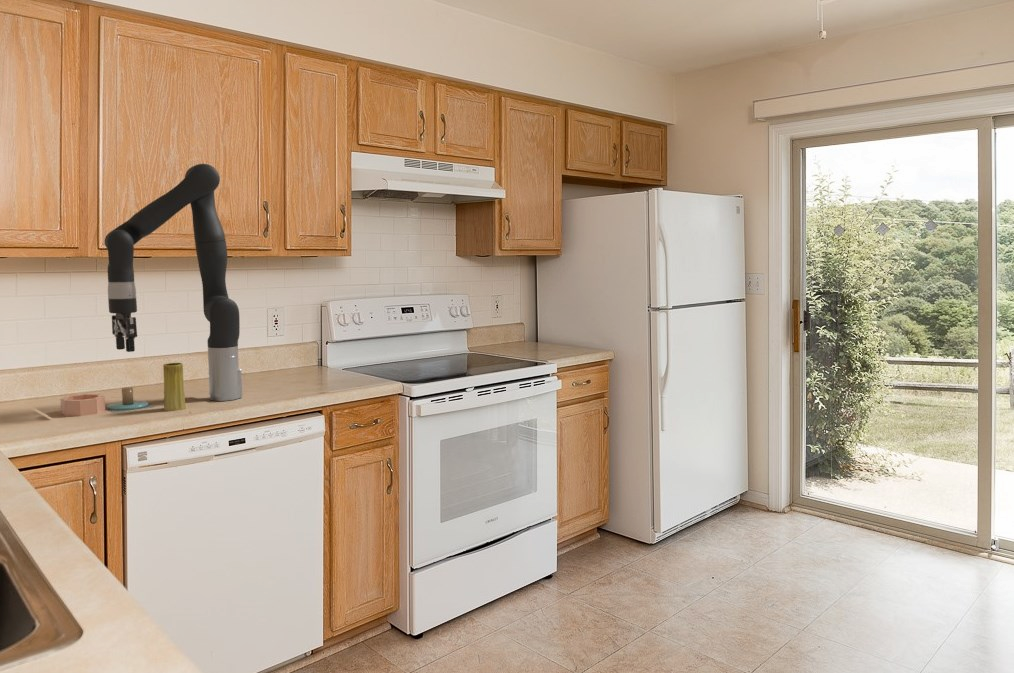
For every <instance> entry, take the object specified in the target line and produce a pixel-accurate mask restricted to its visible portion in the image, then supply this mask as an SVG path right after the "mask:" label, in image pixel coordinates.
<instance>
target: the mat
mask: <svg viewBox="0 0 1014 673" xmlns="http://www.w3.org/2000/svg"><path fill="white" fill-rule="evenodd" d="M149 408H151V409H152V408H156V406H155V405H152V404H150V403H148V406H147V407H144V408H140V409H133V410H132V411H136V410H143V409H144V410H145V409H149ZM106 410H107V411H109V412H111V413H120V412H129V411H131V410H109V409H108V405H105V411H106Z"/></svg>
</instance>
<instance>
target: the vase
mask: <svg viewBox="0 0 1014 673" xmlns="http://www.w3.org/2000/svg"><path fill="white" fill-rule="evenodd" d="M162 370H163V407H164V408H163V410H164V411H166V412H177V411H184V410H186V409H187V408H186V407H187V406H186V398H185V397H186V396H185V388H184V387H185V386H184V366H183V363H182V362H169V363H164V364H163V369H162Z"/></svg>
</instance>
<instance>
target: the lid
mask: <svg viewBox="0 0 1014 673" xmlns="http://www.w3.org/2000/svg"><path fill="white" fill-rule="evenodd" d="M121 400H122V401H119V402H118V401H117V402H113V403H110V404H108V405H107V406H108V409H109V410H130V411H134V410H133V409H138V410H141V409H140V408H144V407H147V406H148V404H149V402H148V401H145V400H134V387H132V386H127V387H122V388H121Z"/></svg>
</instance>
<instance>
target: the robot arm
mask: <svg viewBox="0 0 1014 673" xmlns="http://www.w3.org/2000/svg"><path fill="white" fill-rule="evenodd" d="M220 179H221V177H220V173H219V171H218V170H217V169H216V168H215V167H214V166H212V165H210V164H207V163H198V164H195V165H193V166H191V167H189V168H188V169H187V170H186V172H185V174H184V178H183V179H182V180H181V181H180V182H179V183H178V184H177V185H175V186H174V187H172V189H170V190H169V191H168V192H166V193H164V194H162V195H161V196H159V197H158V198H156V199H154V200H153V201H151V202H150V203H149V204H147V205H146V206H144V207H143V208H141V209H140V210H139V211H138V212H136V213H135V214H133V215H132V216H131V217H130V218H129V219H128V220H127V221H124V222H123V223H122V224H120V225H119V226H117V227H116V228H114V229H112V230H111V231H110V232H108V233H107V234H106V235H105V237H104V245H105V248H106V250H107V254H108V264H107V300H108V303H107V304H108V312H109V314H113V315H111V327H112V328H111V330H112V335H114V337H115V345H116V346H115V347H116V349H117V350H125V352H127V353H133V352H135V350H136V349H135V348H136V347H135V339H136V338H137V337H138V329H137V328H138V327H137V318H136V316H133V317H132V314H135V313H137V312H138V305H137V288H136V283H135V270H134V269H135V268H134V251H135V248H134V246H135V245H136V244H137V243H138V242H140V241H141V240H142V239H143V238H145V237H148V236H149V235H151V234H152V233H153V232H155V231H156V230H158V229H159V228H160V227H161V226H163V225H164V224H165V223H167V222H168V221H169V220H170V219H172V217H174V216H175V215H176V214H178V213H179V212H180V211H181V210H183V208H185V207H187V206H189V204H190V208H191V214H192V228H193V229H192V230H193V236H194V245H195V246H194V247H195V251H196V252H195V253H196V257H197V263H198V267H199V275H200V278H201V284H202V300H203V301H202V302H203V314H204V317H205V319H206V320H207V321H208V322H209V337H208V338H207V359H208V363H207V364H208V383H209V384H208V387H209V388H208V389H209V400H210V401H213V402H214V401H216V402H219V401H220V402H223V401H226V402H227V401H233V400H237V399H240V398H241V399H242V398H243V378H242V375H243V374H242V369H241V368H240V366H239V364H240V362H239V338H240V330H241V329H240V326H241V324H240V309H239V306H238V305H237V303H236V302H235V300H233V299H231V298H229V294H228V291H227V290H228V289H227V285H226V284H227V283H226V275H227V274H226V273H227V269H228V268H227V267H228V248H227V247H228V246H227V241H226V235H225V232H224V229H223V225H222V223H221V220H220V218H219V215H218V212H217V209H216V202H215V201H216V200H215V199H216V198H215V190H217V188H218V187H219V184H220V181H221V180H220Z"/></svg>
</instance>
